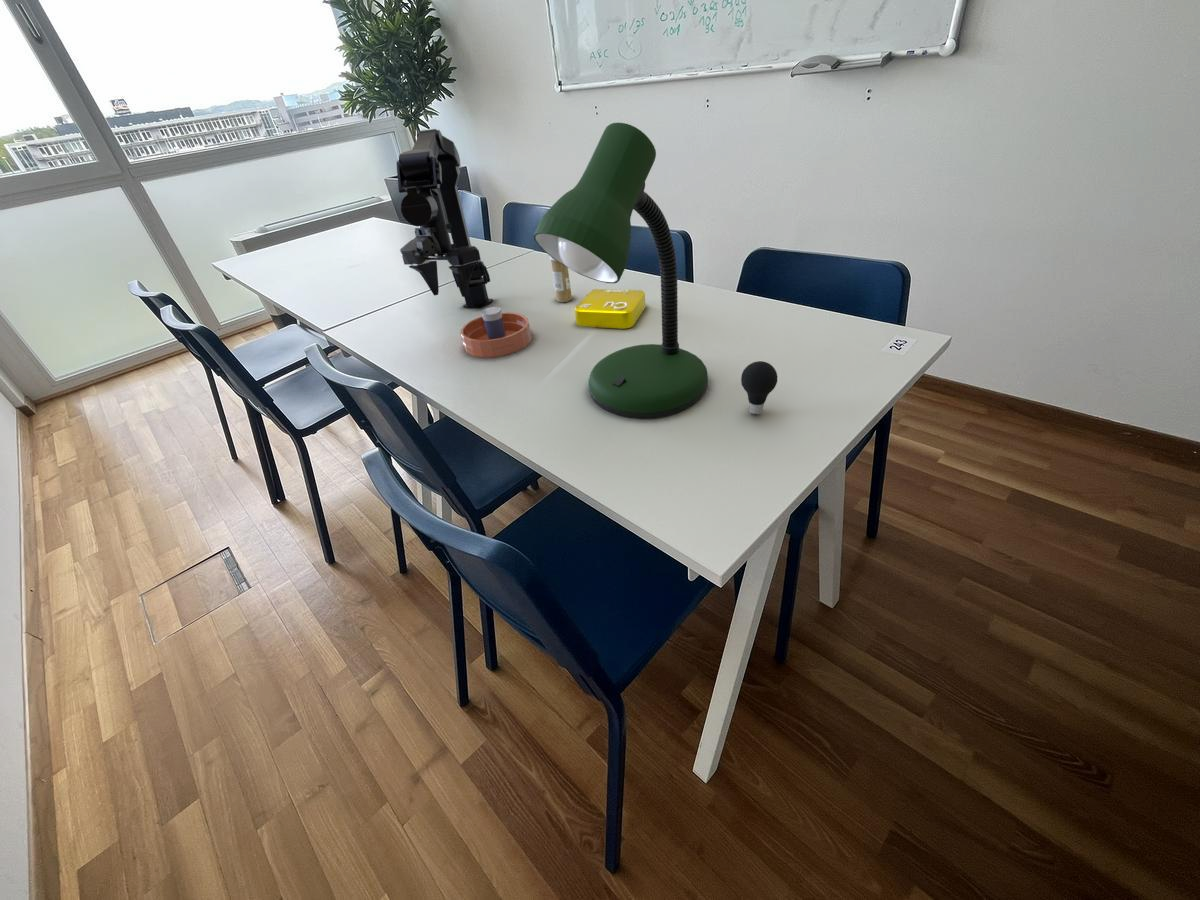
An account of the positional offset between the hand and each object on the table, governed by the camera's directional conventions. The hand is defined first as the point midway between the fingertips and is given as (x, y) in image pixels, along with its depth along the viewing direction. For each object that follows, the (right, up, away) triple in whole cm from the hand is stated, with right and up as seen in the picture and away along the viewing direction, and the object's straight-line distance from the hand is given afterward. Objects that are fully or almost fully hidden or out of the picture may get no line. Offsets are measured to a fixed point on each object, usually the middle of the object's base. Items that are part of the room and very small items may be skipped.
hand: (450, 295), depth 116 cm
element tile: (+37, -1, +16) cm, 40 cm away
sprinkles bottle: (+24, +7, +29) cm, 38 cm away
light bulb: (+61, -29, -25) cm, 72 cm away
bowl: (+9, -9, +9) cm, 16 cm away
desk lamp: (+40, -24, -16) cm, 50 cm away
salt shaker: (+9, -9, +9) cm, 15 cm away
